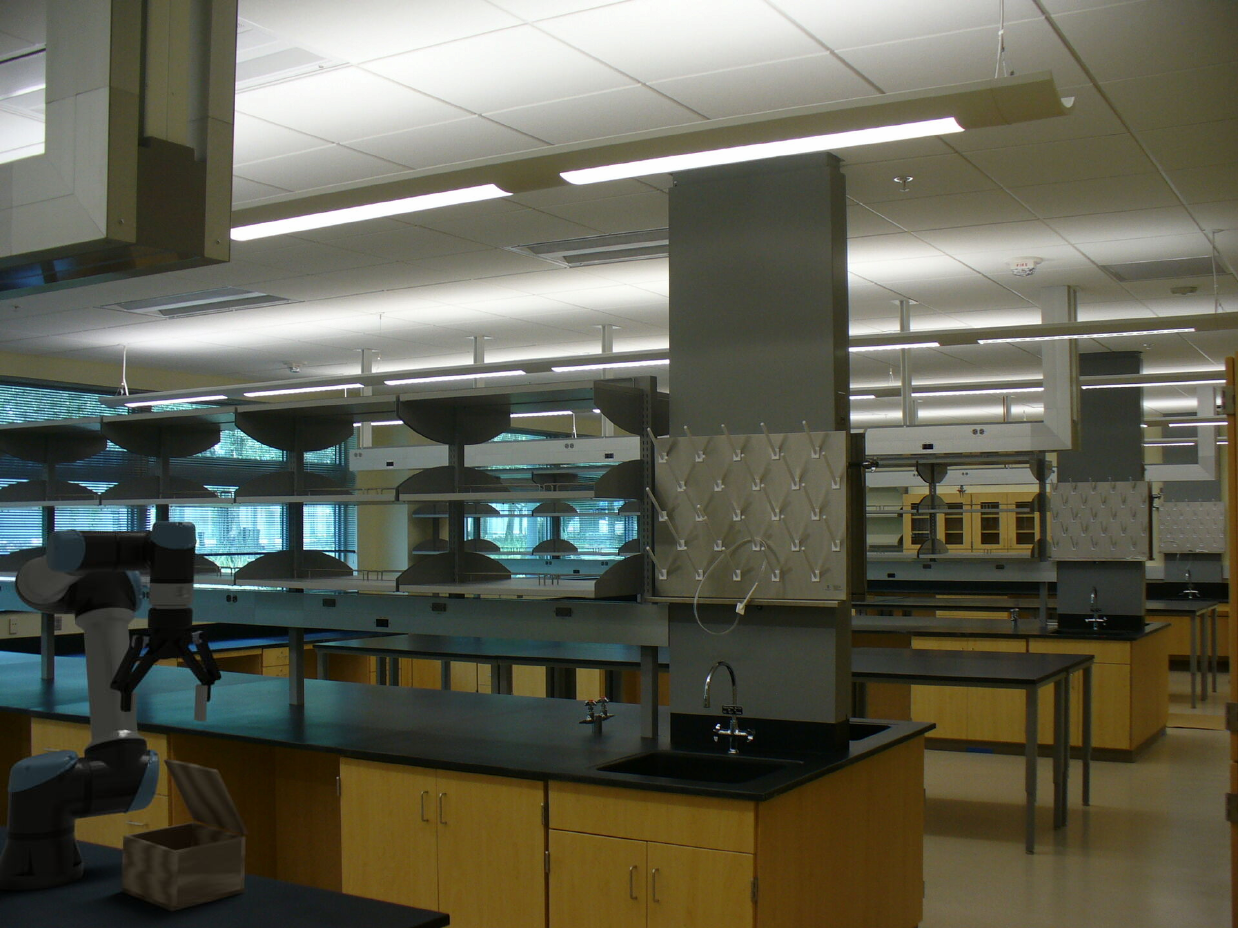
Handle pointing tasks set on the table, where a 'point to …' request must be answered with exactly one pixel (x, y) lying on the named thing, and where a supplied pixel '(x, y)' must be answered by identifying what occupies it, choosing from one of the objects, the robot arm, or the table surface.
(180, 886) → the brown wooden box
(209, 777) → the lid
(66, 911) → the table surface
